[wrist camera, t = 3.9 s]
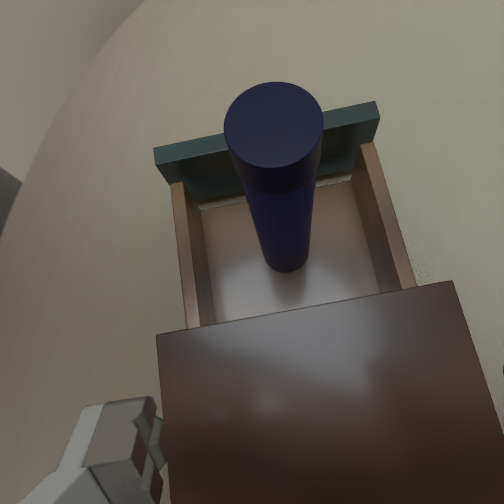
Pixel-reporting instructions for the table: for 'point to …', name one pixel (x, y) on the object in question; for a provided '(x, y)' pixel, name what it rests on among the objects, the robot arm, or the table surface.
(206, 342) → the cabinet
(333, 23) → the table surface
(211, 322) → the drawer
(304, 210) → the cylinder
